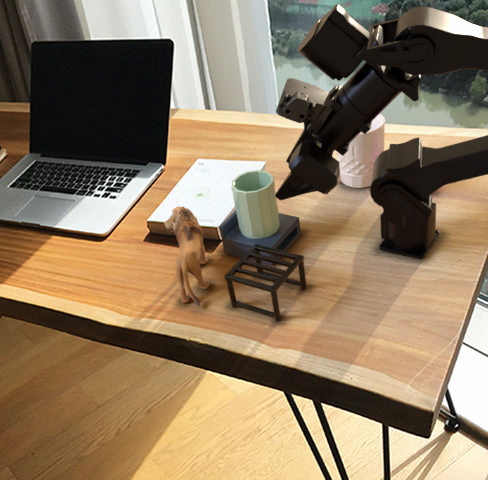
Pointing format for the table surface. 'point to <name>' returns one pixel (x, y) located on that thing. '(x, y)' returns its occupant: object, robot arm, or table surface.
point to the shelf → (280, 240)
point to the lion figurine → (188, 249)
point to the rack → (265, 276)
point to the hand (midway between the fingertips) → (283, 179)
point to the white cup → (362, 155)
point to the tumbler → (256, 204)
